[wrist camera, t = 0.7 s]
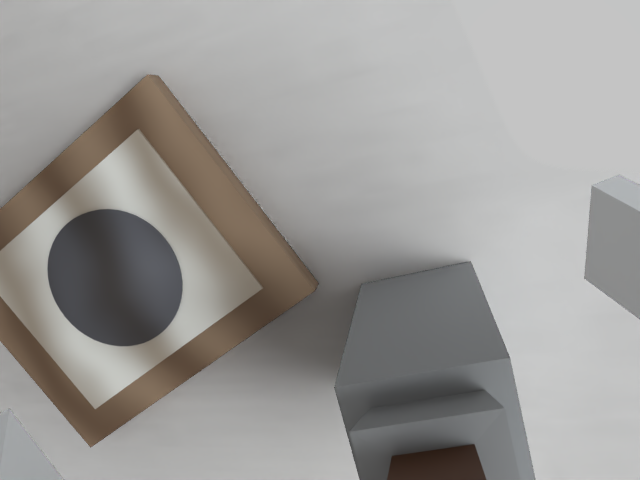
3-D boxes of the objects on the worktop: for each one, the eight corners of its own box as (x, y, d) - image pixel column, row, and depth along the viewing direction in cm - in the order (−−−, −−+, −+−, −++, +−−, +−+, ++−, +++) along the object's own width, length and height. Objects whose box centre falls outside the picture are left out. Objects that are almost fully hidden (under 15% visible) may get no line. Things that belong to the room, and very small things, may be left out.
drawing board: (158, 75, 34) (144, 74, 32) (318, 283, 36) (313, 293, 34) (-46, 260, 39) (-68, 268, 37) (101, 435, 41) (87, 450, 39)
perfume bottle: (386, 381, 36) (367, 630, 19) (361, 283, 35) (316, 455, 18) (492, 363, 35) (575, 613, 18) (470, 261, 34) (536, 423, 16)
